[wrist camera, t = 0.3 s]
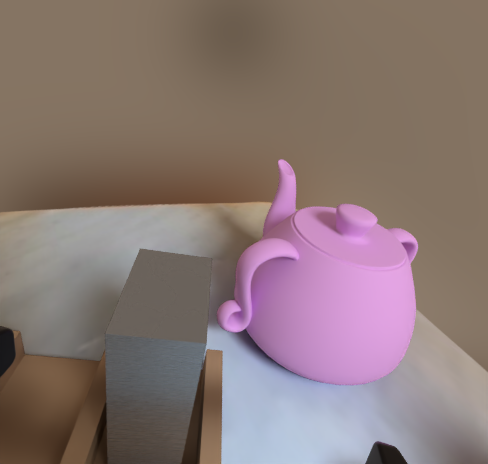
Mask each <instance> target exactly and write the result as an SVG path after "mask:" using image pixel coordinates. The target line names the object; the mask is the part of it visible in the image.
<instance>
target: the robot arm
mask: <svg viewBox="0 0 488 464" xmlns="http://www.w3.org/2000/svg"><path fill="white" fill-rule="evenodd" d="M15 357H16V350H15V340H14V333H13V331H12V330H11V329H9V328H6V327H2V326H0V378H1V376H2V375H3V374H4V373H5V372H6V371H7V370H8V368H9V367H10V366H11V365H12V363H13V362H14V360H15ZM366 464H408V463H407V462H406V460H405V459H404V457H403V456H402V454H401V453H400V451H399V450H398V449H397V448H396V447H394V446H392V445H389V444H385V443H382V442H375V443H374V445H373V447H372V449H371V452H370V454H369V456H368V459H367V461H366Z"/></svg>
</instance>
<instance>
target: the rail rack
mask: <svg viewBox="0 0 488 464" xmlns="http://www.w3.org/2000/svg"><path fill="white" fill-rule="evenodd" d="M13 333H14V340H15V350H16V357H15V360H14V362H13V363H12V365H11V366H10V367H9V368H8V370H7V371H6V372H5V373H4V374H3V375H2V376H1V378H0V464H108V457H107V407H106V356H105V351H104V353H103V356H102V358H101V361H92V360H81V359H69V358H58V357H46V356H35V355H25V352H24V348H23V343H22V338H21V333H20V331H13ZM221 434H222V351H219V350H209V349H207V351H206V356H205V361H204V365H203V370H201V372H200V376H199V381H198V386H197V391H196V395H195V400H194V405H193V410H192V414H191V419H190V424H189V429H188V433H187V438H186V443H185V448H184V452H183V457H182V462H181V464H221Z"/></svg>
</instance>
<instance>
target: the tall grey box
mask: <svg viewBox="0 0 488 464" xmlns="http://www.w3.org/2000/svg"><path fill="white" fill-rule="evenodd" d="M211 266H212V258H205V257H197V256H190V255H183V254H175V253H168V252H161V251H154V250H146V249H140V250H139V253H138V255H137V258H136V260H135V262H134V265H133V267H132V270H131V272H130V275H129V277H128V279H127V282H126V284H125V287H124V289H123V291H122V294H121V296H120V299H119V301H118V304H117V306H116V308H115V311H114V313H113V316H112V318H111V320H110V323H109V325H108V328H107V330H106V333H105V356H106V407H107V457H108V464H181V462H182V457H183V452H184V448H185V443H186V438H187V433H188V429H189V424H190V419H191V414H192V410H193V405H194V400H195V395H196V391H197V386H198V381H199V376H200V372H201V367H202V362H203V357H204V353H205V348H206V342H207V327H208V312H209V297H210V281H211Z"/></svg>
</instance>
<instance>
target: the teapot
mask: <svg viewBox="0 0 488 464" xmlns="http://www.w3.org/2000/svg"><path fill="white" fill-rule="evenodd" d="M278 168H279V185H278V189H277V192H276V195H275V198H274V200H273V203H272V205H271V207H270V209H269V212H268V214H267V217H266V220H265V223H264V228H263V238H262V239H261V240H260V241H258V242H256V243H254V244H252V245H251V246H249V247H248V248H247V249H246V250H245V251H244V252H243V253H242V254H241V256H240V258H239V260H238V263H237V266H236V275H235V279H236V284H235V290H234V297H235V300H228V301H226V302H224V303H223V304H222V305H221V306H220V307H219V309H218V311H217V321H218V324H219V325H220V327H221V328H223V329H224V330H226V331H229V332H240V331H242V330H244V329H246V330H247V332H248V333H249V335H250V336H251V338H252V339H253V340H254V341H255V342H256V344H257V345H258V346H259V347H260V348H261V349H262V350H263V351H264V352H265V353H266V354H267V355H268V356H269V357H271V358H272V359H273V360H274V361H276V362H277V363H278V364H280V365H281V366H283V367H285V368H286V369H288V370H290V371H292V372H294V373H296V374H298V375H300V376H303V377H305V378H308V379H311V380H314V381H318V382H322V383H328V384H335V385H359V384H366V383H369V382H372V381H376V380H378V379H380V378H382V377H384V376H386V375H388V374H389V373H390V372H392V371H393V370H394V369H395V368H396V367H397V366H398V364H399V363H400V362H401V360H402V358H403V357H404V355H405V353H406V351H407V348H408V346H409V343H410V340H411V337H412V333H413V329H414V323H415V313H416V303H415V291H414V283H413V277H412V271H411V266H410V263H411V262H412V260H413V259H414V257H415V255H416V253H417V250H418V243H417V241H416V239H415V238H414V237H413V236H412V235H411V234H410V233H409V232H407V231H405V230H403V229H399V228H391V229H387V230H386V229H385V228H383V227H382V226H380V225H378V224H377V223H376V222H377V218H376V216H375V215H373V214H372V213H371V212H370V211H368V210H366V209H364V208H362V207H360V206H356V205H352V204H340V205H338V206H337V209H336V208H330V207H307V208H304V209H301V210H298V211H296V212H295V202H296V179H295V174H294V171H293V169H292V167H291V166H290V165H289V163H288V162H286V161H285V160H282V159H280V160H279V161H278Z"/></svg>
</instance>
